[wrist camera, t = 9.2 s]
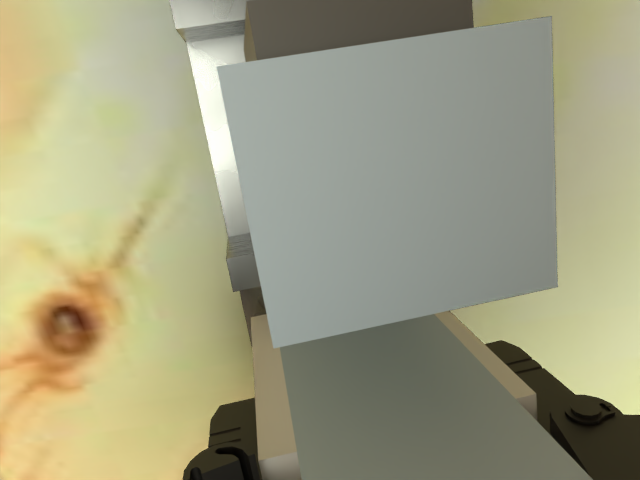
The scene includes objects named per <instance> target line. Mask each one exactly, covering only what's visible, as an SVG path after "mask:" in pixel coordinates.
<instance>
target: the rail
mask: <svg viewBox="0 0 640 480" xmlns="http://www.w3.org/2000/svg"><path fill="white" fill-rule="evenodd" d="M169 1H170V6H171V10H172V15H173V20H174V24H175V29H176V30H177V32H178V33H179V34H180V35H181V37H182V38H183V39H184V41H185V42H186V44H187V48H188V53H189V58H190V62H191V67H192V72H193V76H194V81H195V86H196V90H197V95H198V99H199V104H200V109H201V113H202V118H203V123H204V127H205V132H206V137H207V141H208V146H209V150H210V155H211V160H212V164H213V169H214V174H215V178H216V183H217V188H218V192H219V197H220V202H221V206H222V211H223V215H224V220H225V225H226V229H227V234H228V244H227V254H226V261H227V266H228V270H229V275H230V279H231V284H232V288H233V292H235V291H240V294H241V299H242V304H243V308H244V313H245V318H246V322H247V327H248V332H249V336H250V341H251V345H252V332H251V317H255V316H260V315H265V314H266V309H265V304H264V299H263V294H262V289H261V284H260V279H259V274H258V269H257V264H256V259H255V255H254V250H253V245H252V240H251V235H250V230H249V225H248V220H247V215H246V210H245V205H244V200H243V195H242V190H241V185H240V180H239V175H238V170H237V165H236V160H235V156H234V151H233V146H232V141H231V136H230V131H229V126H228V121H227V116H226V111H225V106H224V101H223V96H222V91H221V86H220V81H219V76H218V71H217V66H223V65H230V64H236V63H243V62H246V60H245V54H244V33H245V15H246V1H252V0H169Z"/></svg>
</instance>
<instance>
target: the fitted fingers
mask: <svg viewBox="0 0 640 480" xmlns="http://www.w3.org/2000/svg"><path fill="white" fill-rule="evenodd" d="M244 54H245V60H246V62H243V63H236V64H230V65H223V66H217V71H218V76H219V81H220V86H221V91H222V96H223V101H224V106H225V111H226V116H227V121H228V126H229V131H230V136H231V141H232V146H233V151H234V156H235V160H236V165H237V170H238V175H239V180H240V185H241V190H242V195H243V200H244V205H245V210H246V215H247V220H248V225H249V230H250V235H251V240H252V245H253V250H254V255H255V259H256V264H257V269H258V274H259V279H260V284H261V289H262V294H263V299H264V304H265V309H266V314H267V319H268V324H269V329H270V334H271V339H272V344H273V349H274V348H279V347H283V346H288V345H293V344H297V343H302V342H307V341H311V340H316V339H320V338H325V337H330V336H334V335H339V334H343V333H348V332H353V331H357V330H362V329H366V328H371V327H376V326H380V325H385V324H390V323H394V322H399V321H403V320H408V319H413V318H417V317H422V316H426V315H431V314H436V313H440V312H445V311H450V310H454V309H459V308H463V307H468V306H473V305H477V304H482V303H486V302H491V301H496V300H500V299H505V298H509V297H514V296H519V295H523V294H528V293H533V292H537V291H542V290H546V289H551V288H556V287H558V278H557V232H556V187H555V141H554V95H553V49H552V16H549V17H542V18H535V19H529V20H522V21H515V22H509V23H502V24H495V25H489V26H482V27H476V28H474V27H473V11H472V0H252V1H246V15H245V33H244Z"/></svg>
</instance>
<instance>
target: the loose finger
mask: <svg viewBox="0 0 640 480" xmlns="http://www.w3.org/2000/svg"><path fill="white" fill-rule="evenodd" d="M280 352H281V358H282V364H283V370H284V376H285V383H286V389H287V395H288V401H289V407H290V413H291V419H292V425H293V431H294V437H295V443H296V449H297V455H298V461H299V467H300V473H301V479H302V480H593V479H592V478H591V477H590V476H589V475H588V474H587V473H586V472H585V471H584V470H583V469H582V468H581V467H580V466H579V465H578V464H577V462H576V461H575V460H574V459H573V458H572V457H571V456H570V455H569V454H568V453H567V452H566V451H565V450H564V449H563V448H562V447H561V446H560V445H559V444H558V443H557V442H556V441H555V440H554V438H553V437H552V436H551V435H550V434H549V433H548V432H547V431H546V430H545V429H544V428H543V427H542V426H541V425H540V424H539V423H538V422H537V421H536V420H535V419H534V418H533V417H532V416H531V414H530V413H529V412H528V411H527V410H526V409H525V408H524V407H523V406H522V405H521V404H520V403H519V402H518V401H517V400H516V399H515V398H514V397H513V396H512V395H511V394H510V393H509V392H508V390H507V389H506V388H505V387H504V386H503V385H502V384H501V383H500V382H499V381H498V380H497V379H496V378H495V377H494V376H493V375H492V374H491V373H490V372H489V371H488V370H487V369H486V368H485V367H484V365H483V364H482V363H481V362H480V361H479V360H478V359H477V358H476V357H475V356H474V355H473V354H472V353H471V352H470V351H469V350H468V349H467V348H466V347H465V346H464V345H463V344H462V343H461V341H460V340H459V339H458V338H457V337H456V336H455V335H454V334H453V333H452V332H451V331H450V330H449V329H448V328H447V327H446V326H445V325H444V324H443V323H442V322H441V321H440V320H439V319H438V317H437V316H436V315H435V314H431V315H426V316H422V317H417V318H413V319H408V320H403V321H399V322H394V323H390V324H385V325H380V326H376V327H371V328H366V329H362V330H357V331H353V332H348V333H343V334H339V335H334V336H330V337H325V338H320V339H316V340H311V341H307V342H302V343H297V344H293V345H288V346H283V347H280Z"/></svg>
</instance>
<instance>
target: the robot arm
mask: <svg viewBox="0 0 640 480" xmlns="http://www.w3.org/2000/svg"><path fill="white" fill-rule="evenodd" d="M435 315H436V316H437V317H438V319H439V320H440V321H441V322H442V323H443V324H444V325H445V326H446V327H447V328H448V329H449V330H450V331H451V332H452V333H453V334H454V335H455V336H456V337H457V338H458V339H459V340H460V341H461V343H462V344H463V345H464V346H465V347H466V348H467V349H468V350H469V351H470V352H471V353H472V354H473V355H474V356H475V357H476V358H477V359H478V360H479V361H480V362H481V363H482V364H483V365H484V367H485V368H486V369H487V370H488V371H489V372H490V373H491V374H492V375H493V376H494V377H495V378H496V379H497V380H498V381H499V382H500V383H501V384H502V385H503V386H504V387H505V388H506V389H507V390H508V392H509V393H510V394H511V395H512V396H513V397H514V398H515V399H516V400H517V401H518V402H519V403H520V404H521V405H522V406H523V407H524V408H525V409H526V410H527V411H528V412H529V413H530V414H531V416H532V417H533V418H534V419H535V420H536V421H537V422H538V423H539V424H540V425H541V426H542V427H543V428H544V429H545V430H546V431H547V432H548V433H549V434H550V435H551V436H552V437H553V438H554V440H555V441H556V442H557V443H558V444H559V445H560V446H561V447H562V448H563V449H564V450H565V451H566V452H567V453H568V454H569V455H570V456H571V457H572V458H573V459H574V460H575V461H576V462H577V464H578V465H579V466H580V467H581V468H582V469H583V470H584V471H585V472H586V473H587V474H588V475H589V476H590V477H591V478H592V479H593V480H640V415H623V414H622V412H621V411H620V410H618V409H617V408H616V407H615V406H613V405H612V404H611V403H609V402H607V401H604V400H602V399H600V398H597V397H592V396H587V395H575V394H574V393H573V392H572V391H570V390H569V389H568V388H567V387H566V386H564V385H563V384H562V383H561V382H560V381H558V380H557V379H556V378H555V377H554V376H553V375H551V374H550V373H549V372H548V371H547V370H545V369H544V368H543V369H542V367H541V365H540V364H538V363H537V362H536V361H535V360H532V358H531V357H530V356H529V355H528V354H527V353H525V352H524V351H523V350H522V349H521V348H519V347H517V346H515V345H512V344H510V343H507V342H505V341H502V340H501V341H497V342H492V343H488V344H484V343H483V342H482V341H481V340H479V339H478V338H477V337H476V336H475V335H474V334H473V333H472V332H471V331H470V330H469V329H468V328H467V327H466V326H465V325H464V324H463V323H462V322H461V321H460V320H458V319H457V318H456V317H455V316H454V315H453V314H452V313H451V312H450V311H445V312H440V313H436V314H435ZM251 332H252V351H253V370H254V389H255V398H252V399H247V400H243V401H239V402H234V403H230V404H225V405H221V406H220V407H219V408H218V410H217V411H216V413H215V414H214V416H213V417H212V419H211V423H210V437H209V444H208V447H209V448H208V449H206V450H204V451H202V452H200V453H199V454H198V455H197V456H196V457H194V458H193V459H192V460H191V461H190V463H189V464H188V466H187V467H186V469H185V470H184V475H183V480H302V479H301V473H300V467H299V461H298V455H297V449H296V443H295V437H294V431H293V425H292V419H291V413H290V407H289V401H288V395H287V389H286V383H285V376H284V370H283V364H282V358H281V352H280V347H279V348H274V349H273V344H272V339H271V334H270V329H269V324H268V319H267V314H265V315H260V316H255V317H251Z"/></svg>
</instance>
